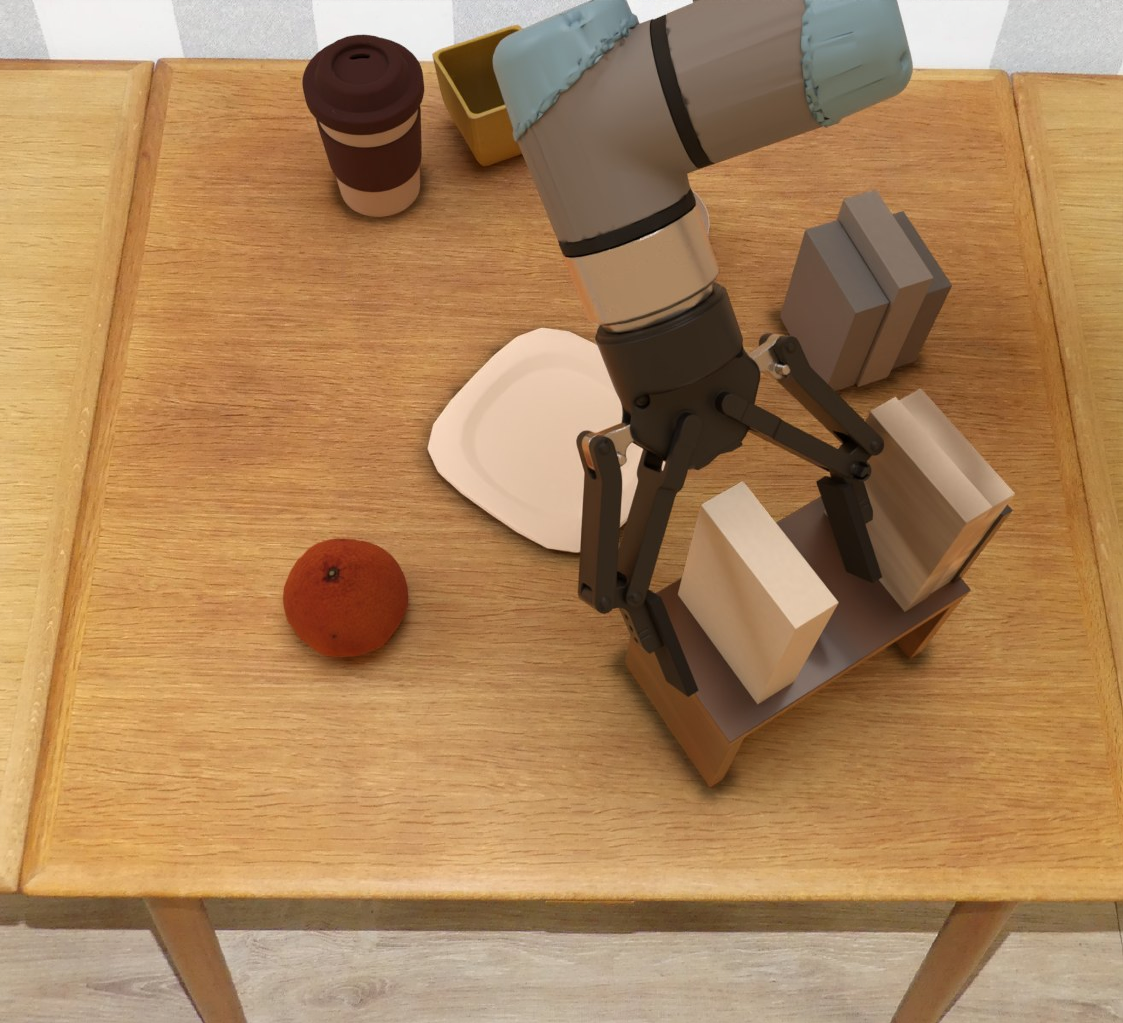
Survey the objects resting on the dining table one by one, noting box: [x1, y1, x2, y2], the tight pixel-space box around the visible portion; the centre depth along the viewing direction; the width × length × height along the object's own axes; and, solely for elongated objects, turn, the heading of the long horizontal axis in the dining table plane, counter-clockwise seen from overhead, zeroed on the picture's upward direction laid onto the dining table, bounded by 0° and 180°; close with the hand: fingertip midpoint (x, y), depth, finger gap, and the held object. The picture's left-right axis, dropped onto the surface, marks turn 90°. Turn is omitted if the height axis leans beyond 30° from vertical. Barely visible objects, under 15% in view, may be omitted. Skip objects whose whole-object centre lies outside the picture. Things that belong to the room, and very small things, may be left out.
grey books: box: [779, 189, 953, 392], centre depth 99 cm, size 9×9×14 cm
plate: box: [426, 327, 666, 554], centre depth 100 cm, size 18×18×2 cm
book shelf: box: [624, 388, 1016, 788], centre depth 81 cm, size 20×11×25 cm, turn 122°
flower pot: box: [431, 24, 523, 167], centre depth 111 cm, size 9×9×9 cm
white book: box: [678, 480, 839, 704], centre depth 74 cm, size 9×3×13 cm, turn 32°
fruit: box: [282, 537, 409, 658], centre depth 90 cm, size 9×9×8 cm
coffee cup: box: [301, 34, 425, 218], centre depth 106 cm, size 10×10×15 cm
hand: (775, 629), depth 73 cm, fingers open, 13 cm apart
